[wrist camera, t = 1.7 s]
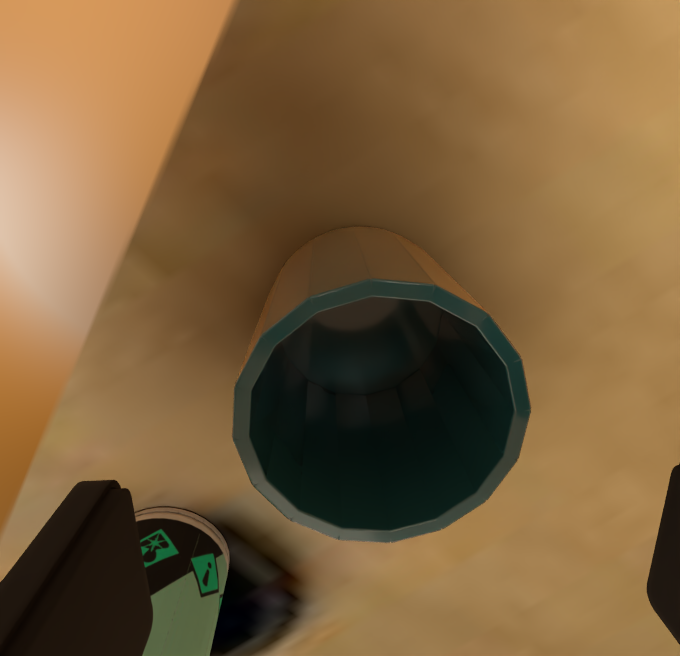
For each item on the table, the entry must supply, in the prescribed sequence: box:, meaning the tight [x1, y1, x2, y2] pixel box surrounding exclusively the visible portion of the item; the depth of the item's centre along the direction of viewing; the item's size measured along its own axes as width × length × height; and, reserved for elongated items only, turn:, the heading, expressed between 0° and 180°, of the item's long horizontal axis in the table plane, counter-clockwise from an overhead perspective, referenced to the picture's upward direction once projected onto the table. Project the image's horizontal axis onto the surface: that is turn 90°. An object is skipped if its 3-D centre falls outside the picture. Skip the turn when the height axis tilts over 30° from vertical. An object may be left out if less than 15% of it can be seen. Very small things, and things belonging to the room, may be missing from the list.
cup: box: [232, 226, 531, 543], centre depth 15 cm, size 7×7×8 cm
